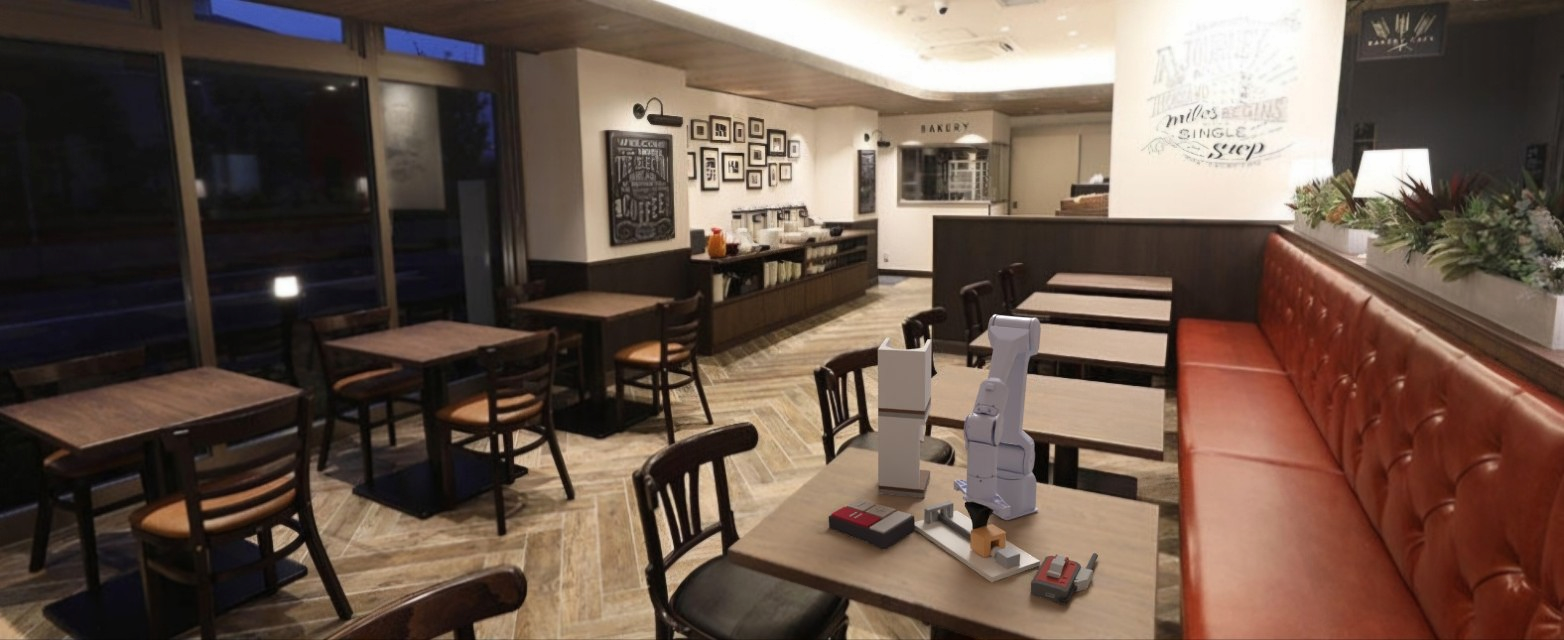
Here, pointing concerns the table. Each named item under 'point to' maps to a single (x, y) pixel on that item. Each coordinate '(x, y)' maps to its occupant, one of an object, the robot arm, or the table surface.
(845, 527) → the calculator
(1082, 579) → the walkie-talkie
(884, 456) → the white box tower
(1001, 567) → the board
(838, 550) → the table surface
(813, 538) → the table surface
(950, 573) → the table surface
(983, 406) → the robot arm
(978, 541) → the orange block
